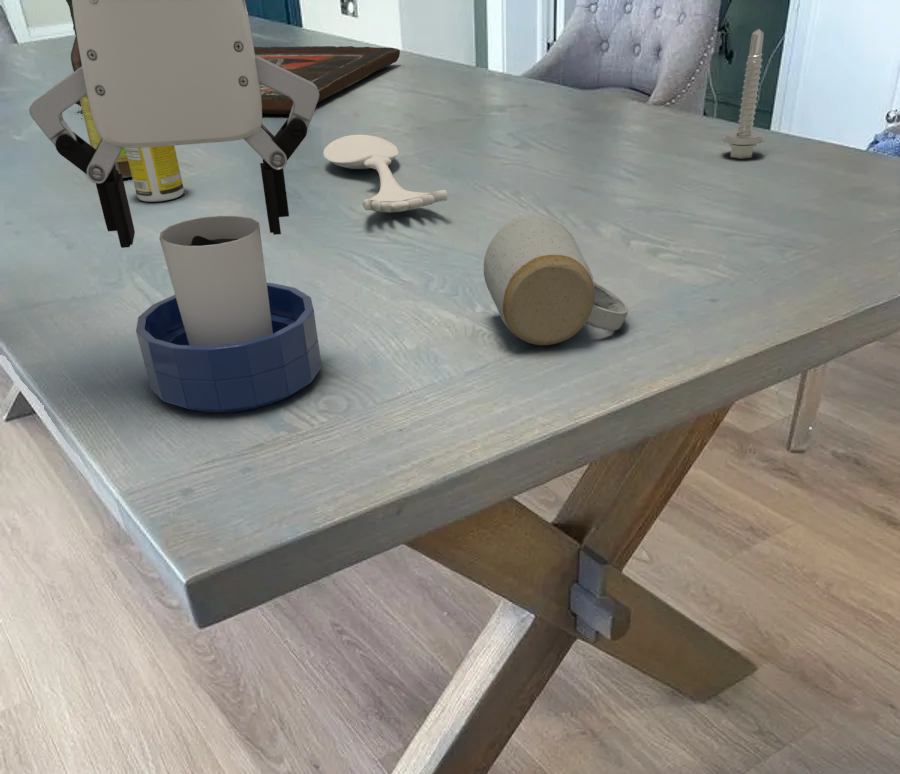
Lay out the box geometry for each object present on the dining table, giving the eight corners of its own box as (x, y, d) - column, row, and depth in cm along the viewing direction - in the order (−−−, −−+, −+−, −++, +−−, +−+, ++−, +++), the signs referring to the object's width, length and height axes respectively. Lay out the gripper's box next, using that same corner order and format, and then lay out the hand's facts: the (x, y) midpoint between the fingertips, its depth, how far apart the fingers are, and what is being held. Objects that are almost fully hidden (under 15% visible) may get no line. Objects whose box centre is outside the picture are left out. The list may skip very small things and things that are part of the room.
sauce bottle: (128, 183, 114) (81, -11, 102) (88, 179, 116) (37, -11, 104) (160, 169, 119) (119, -18, 106) (121, 166, 121) (76, -18, 108)
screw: (718, 160, 109) (722, 150, 113) (761, 162, 108) (763, 151, 112) (734, 32, 101) (737, 25, 105) (780, 32, 100) (782, 25, 104)
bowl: (118, 394, 68) (99, 327, 64) (236, 334, 75) (224, 272, 72) (241, 433, 62) (227, 363, 59) (355, 364, 70) (347, 298, 67)
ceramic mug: (501, 356, 69) (502, 251, 65) (482, 314, 76) (482, 216, 71) (639, 344, 70) (650, 240, 66) (609, 304, 77) (617, 207, 72)
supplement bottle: (188, 188, 111) (168, 96, 105) (180, 201, 107) (160, 105, 100) (142, 191, 111) (120, 99, 105) (133, 204, 106) (109, 109, 100)
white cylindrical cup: (182, 392, 66) (147, 248, 60) (203, 353, 71) (173, 217, 65) (275, 389, 66) (250, 244, 59) (290, 350, 71) (267, 213, 65)
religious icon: (69, 114, 149) (63, 93, 147) (211, 63, 182) (208, 45, 180) (297, 119, 138) (294, 96, 136) (403, 64, 171) (402, 45, 169)
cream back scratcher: (365, 234, 94) (362, 198, 92) (319, 160, 118) (316, 130, 116) (452, 223, 95) (451, 188, 93) (389, 152, 120) (387, 122, 118)
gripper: (295, -92, 56) (326, 207, 66) (-9, -80, 53) (74, 228, 64) (305, -85, 50) (337, 241, 61) (-35, -72, 47) (61, 265, 58)
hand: (202, 234), depth 62 cm, fingers open, 9 cm apart
